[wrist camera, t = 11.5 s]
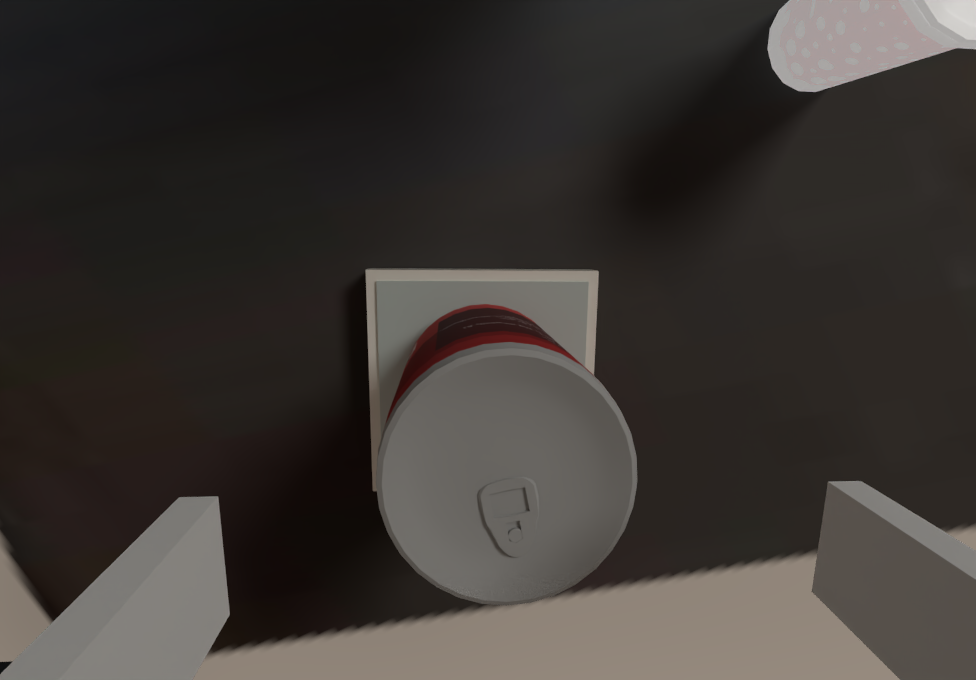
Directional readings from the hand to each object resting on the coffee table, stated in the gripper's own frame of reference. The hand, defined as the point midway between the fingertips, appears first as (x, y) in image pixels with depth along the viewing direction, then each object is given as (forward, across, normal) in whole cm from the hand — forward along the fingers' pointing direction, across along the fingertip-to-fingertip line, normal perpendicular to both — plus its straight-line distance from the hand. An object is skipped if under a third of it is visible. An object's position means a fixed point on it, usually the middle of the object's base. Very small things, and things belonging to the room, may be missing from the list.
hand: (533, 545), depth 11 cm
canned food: (+15, 0, -1) cm, 15 cm away
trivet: (+16, 0, -1) cm, 16 cm away
